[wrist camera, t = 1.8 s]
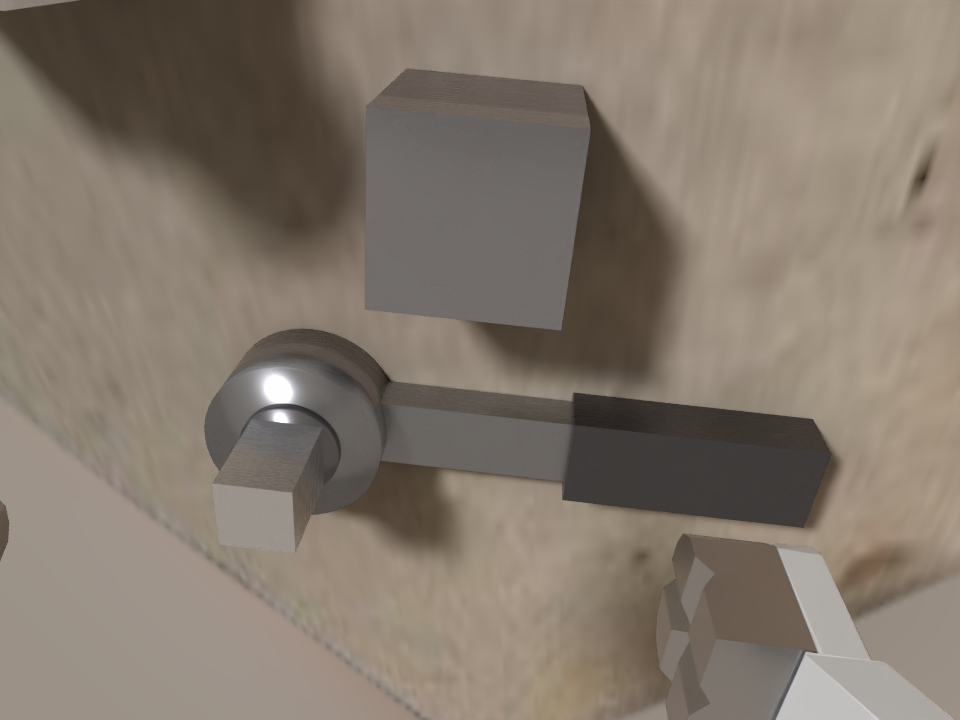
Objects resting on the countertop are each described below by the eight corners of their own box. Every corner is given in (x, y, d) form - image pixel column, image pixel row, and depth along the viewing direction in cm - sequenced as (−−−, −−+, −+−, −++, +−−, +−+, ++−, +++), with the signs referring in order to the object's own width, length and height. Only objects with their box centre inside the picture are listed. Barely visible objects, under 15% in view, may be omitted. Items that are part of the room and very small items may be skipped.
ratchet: (824, 385, 28) (899, 509, 22) (777, 519, 31) (832, 661, 25) (228, 320, 29) (141, 423, 23) (240, 457, 32) (167, 581, 26)
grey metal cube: (582, 85, 24) (591, 128, 19) (559, 252, 27) (561, 330, 21) (406, 68, 24) (365, 106, 19) (401, 235, 27) (364, 309, 22)
